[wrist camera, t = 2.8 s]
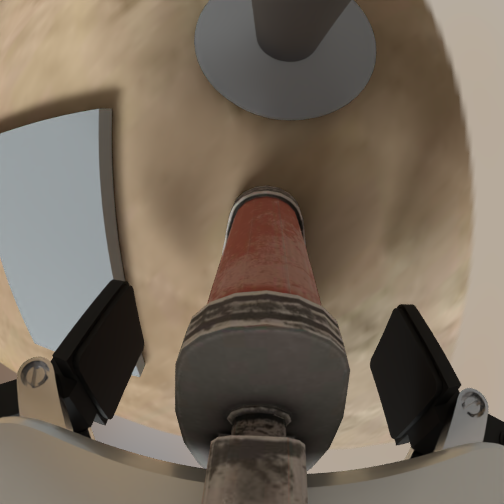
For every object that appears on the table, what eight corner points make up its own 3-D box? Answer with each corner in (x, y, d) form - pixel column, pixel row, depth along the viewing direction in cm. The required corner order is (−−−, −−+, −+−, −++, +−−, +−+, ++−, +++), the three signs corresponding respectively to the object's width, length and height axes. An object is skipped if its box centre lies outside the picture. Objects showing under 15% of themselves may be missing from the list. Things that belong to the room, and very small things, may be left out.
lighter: (293, 347, 13) (302, 544, 5) (227, 344, 14) (195, 539, 5) (312, 187, 10) (460, 498, 1) (221, 184, 10) (53, 487, 1)
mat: (-6, 137, 9) (-19, 140, 8) (112, 108, 9) (99, 108, 8) (41, 334, 15) (34, 343, 14) (145, 365, 15) (140, 377, 14)
